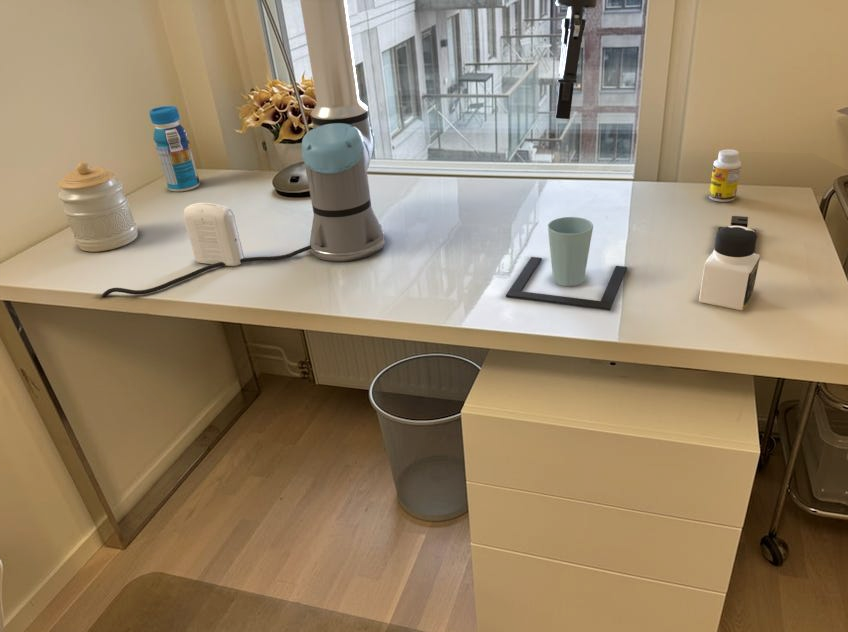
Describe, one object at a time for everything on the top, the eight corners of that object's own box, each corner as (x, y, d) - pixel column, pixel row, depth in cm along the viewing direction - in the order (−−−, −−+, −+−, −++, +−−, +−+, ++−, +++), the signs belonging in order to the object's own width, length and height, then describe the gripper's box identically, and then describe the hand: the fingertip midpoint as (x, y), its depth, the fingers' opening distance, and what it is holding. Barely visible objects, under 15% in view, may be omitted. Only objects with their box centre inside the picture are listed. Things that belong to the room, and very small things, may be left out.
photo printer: (248, 258, 143) (234, 200, 136) (237, 268, 139) (221, 208, 132) (205, 255, 145) (189, 198, 139) (193, 264, 142) (176, 206, 135)
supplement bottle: (703, 195, 155) (710, 149, 149) (727, 192, 156) (734, 146, 150) (716, 204, 150) (723, 157, 145) (740, 201, 151) (748, 154, 145)
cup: (591, 270, 128) (594, 216, 122) (589, 290, 122) (592, 234, 116) (549, 269, 129) (550, 216, 124) (545, 288, 123) (546, 233, 118)
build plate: (755, 257, 128) (759, 234, 126) (713, 254, 131) (716, 231, 128) (755, 231, 138) (760, 208, 135) (716, 228, 140) (720, 206, 137)
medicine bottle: (743, 311, 112) (756, 242, 106) (698, 302, 116) (708, 235, 109) (753, 292, 117) (766, 225, 111) (709, 284, 120) (719, 218, 114)
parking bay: (531, 259, 134) (531, 256, 133) (626, 269, 127) (627, 266, 127) (505, 297, 121) (505, 294, 121) (609, 310, 115) (610, 308, 115)
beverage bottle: (162, 192, 182) (138, 113, 171) (177, 181, 188) (155, 105, 178) (192, 192, 180) (170, 112, 169) (206, 181, 187) (186, 104, 176)
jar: (149, 237, 156) (124, 159, 146) (92, 258, 148) (62, 176, 139) (123, 225, 164) (98, 149, 154) (68, 243, 156) (37, 165, 146)
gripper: (604, -18, 123) (585, 122, 133) (593, -13, 135) (577, 116, 144) (561, -21, 123) (546, 120, 133) (554, -15, 135) (541, 114, 145)
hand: (562, 118), depth 139 cm, fingers closed
